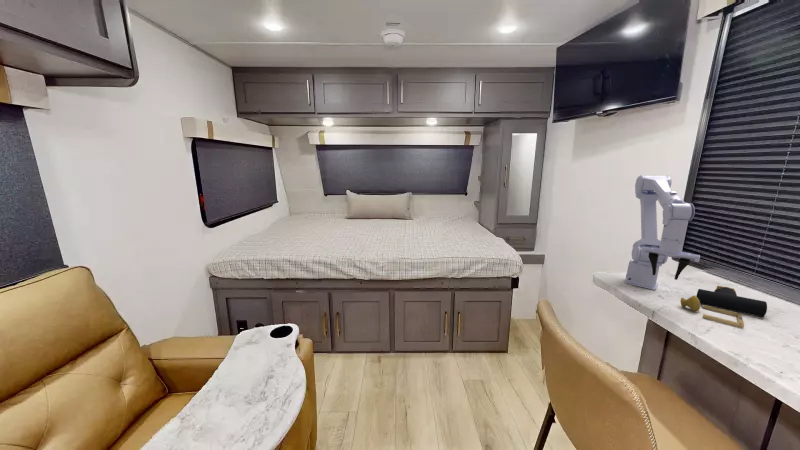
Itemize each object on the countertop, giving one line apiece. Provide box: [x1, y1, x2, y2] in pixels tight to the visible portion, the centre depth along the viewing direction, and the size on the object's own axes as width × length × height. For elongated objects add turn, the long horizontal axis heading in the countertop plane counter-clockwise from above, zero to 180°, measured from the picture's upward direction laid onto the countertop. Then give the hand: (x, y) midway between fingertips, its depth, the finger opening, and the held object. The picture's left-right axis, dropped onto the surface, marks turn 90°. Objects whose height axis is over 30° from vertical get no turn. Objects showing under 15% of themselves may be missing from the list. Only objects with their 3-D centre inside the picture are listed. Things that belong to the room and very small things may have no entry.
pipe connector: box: [695, 285, 768, 318], centre depth 101 cm, size 12×5×15 cm
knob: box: [680, 295, 701, 312], centre depth 98 cm, size 5×5×5 cm
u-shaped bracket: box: [702, 304, 745, 329], centre depth 93 cm, size 8×10×1 cm
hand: (664, 276), depth 102 cm, fingers open, 5 cm apart
